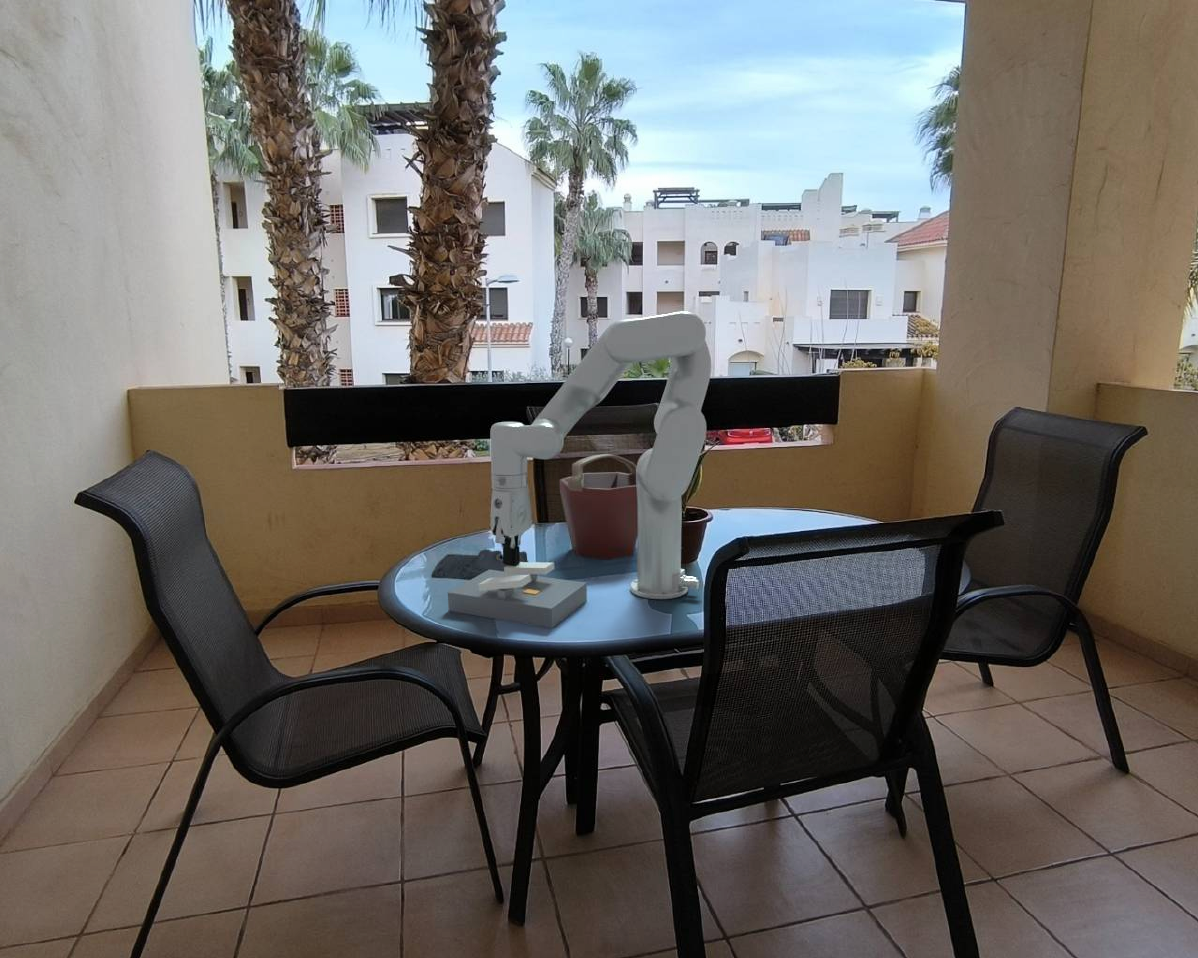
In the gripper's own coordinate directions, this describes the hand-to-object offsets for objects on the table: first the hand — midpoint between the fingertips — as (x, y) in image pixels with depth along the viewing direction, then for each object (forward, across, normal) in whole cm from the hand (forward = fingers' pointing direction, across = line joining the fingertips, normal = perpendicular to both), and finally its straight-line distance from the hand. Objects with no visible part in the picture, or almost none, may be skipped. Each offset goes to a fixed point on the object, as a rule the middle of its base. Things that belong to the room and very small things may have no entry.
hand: (511, 564), depth 162 cm
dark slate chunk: (+8, +13, +16) cm, 22 cm away
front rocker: (+1, -10, -4) cm, 11 cm away
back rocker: (+1, 0, -4) cm, 4 cm away
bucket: (+7, +39, -4) cm, 40 cm away
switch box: (+7, -5, -4) cm, 10 cm away
